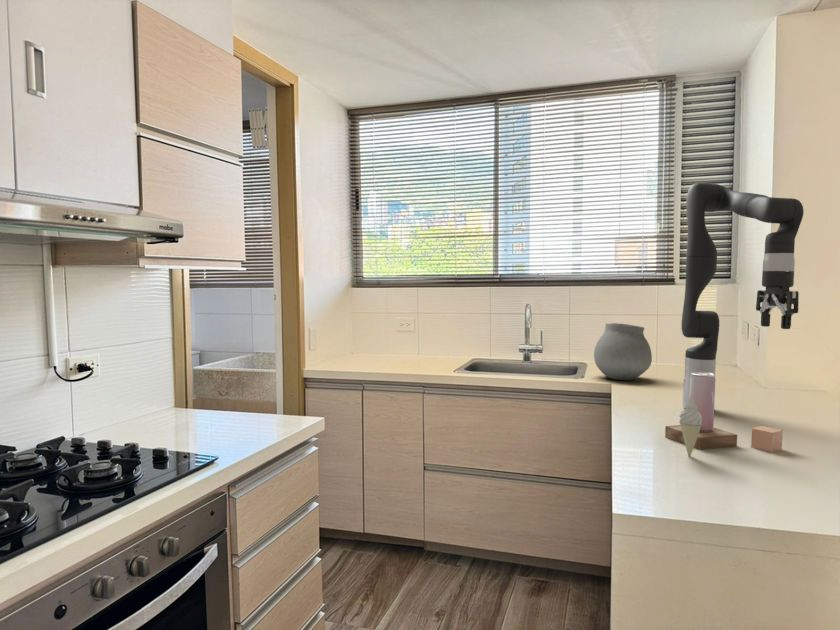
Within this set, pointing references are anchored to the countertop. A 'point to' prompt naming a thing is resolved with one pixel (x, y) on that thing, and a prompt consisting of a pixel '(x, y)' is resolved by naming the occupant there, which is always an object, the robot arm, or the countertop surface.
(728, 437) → the pedestal
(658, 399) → the countertop surface
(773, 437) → the terracotta cube
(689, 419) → the ice cream cone
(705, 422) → the beverage can
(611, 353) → the ceramic pot
